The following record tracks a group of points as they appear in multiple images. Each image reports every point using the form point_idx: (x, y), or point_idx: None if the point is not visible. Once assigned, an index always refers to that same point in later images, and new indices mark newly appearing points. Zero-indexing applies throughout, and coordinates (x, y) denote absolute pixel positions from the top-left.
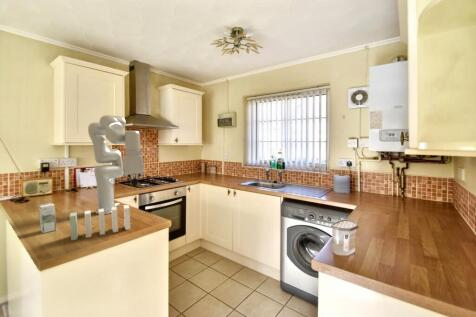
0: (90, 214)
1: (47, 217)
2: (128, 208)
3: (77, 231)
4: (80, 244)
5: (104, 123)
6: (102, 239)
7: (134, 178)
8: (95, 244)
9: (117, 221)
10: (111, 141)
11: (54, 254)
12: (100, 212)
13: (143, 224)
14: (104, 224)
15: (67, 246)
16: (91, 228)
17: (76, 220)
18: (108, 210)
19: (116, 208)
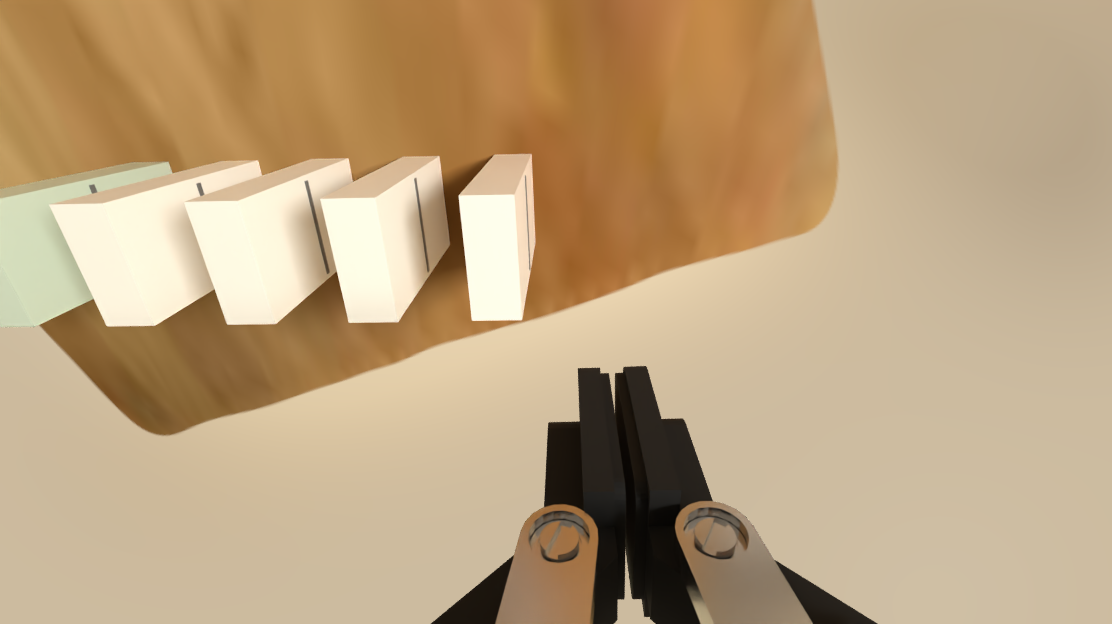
0: (155, 271)
1: None
2: (511, 318)
3: None
4: (253, 341)
5: None
6: (364, 331)
7: (648, 541)
8: (339, 380)
9: (429, 274)
10: None
11: (166, 399)
12: (246, 323)
13: (642, 189)
14: (333, 272)
15: (187, 333)
16: (238, 174)
17: (70, 251)
18: None
19: (386, 277)
